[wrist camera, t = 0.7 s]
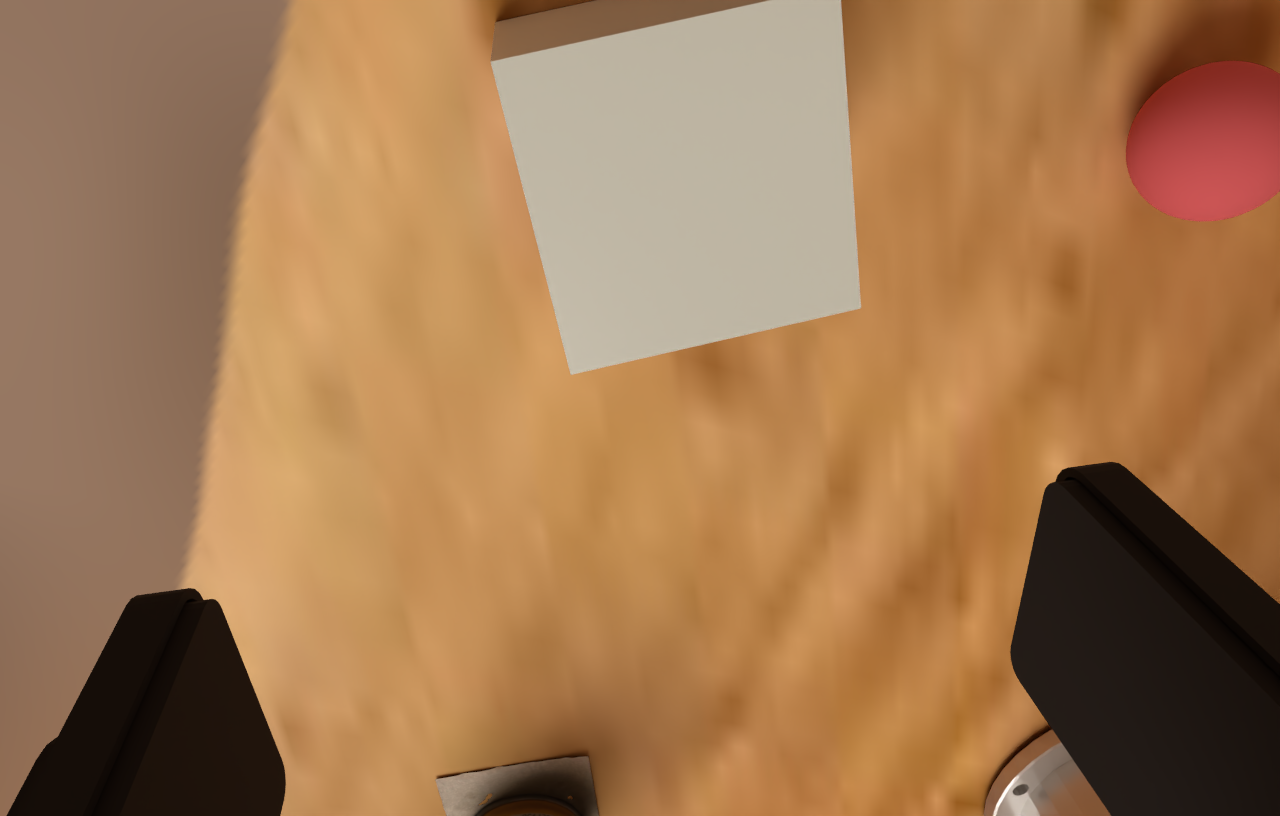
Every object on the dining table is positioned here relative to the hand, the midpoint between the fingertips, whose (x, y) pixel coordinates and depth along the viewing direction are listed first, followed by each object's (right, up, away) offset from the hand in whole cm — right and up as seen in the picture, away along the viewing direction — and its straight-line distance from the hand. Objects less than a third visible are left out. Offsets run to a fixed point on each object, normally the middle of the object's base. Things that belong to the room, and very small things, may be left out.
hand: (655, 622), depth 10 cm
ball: (+19, +11, +19) cm, 29 cm away
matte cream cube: (0, +12, +18) cm, 22 cm away
